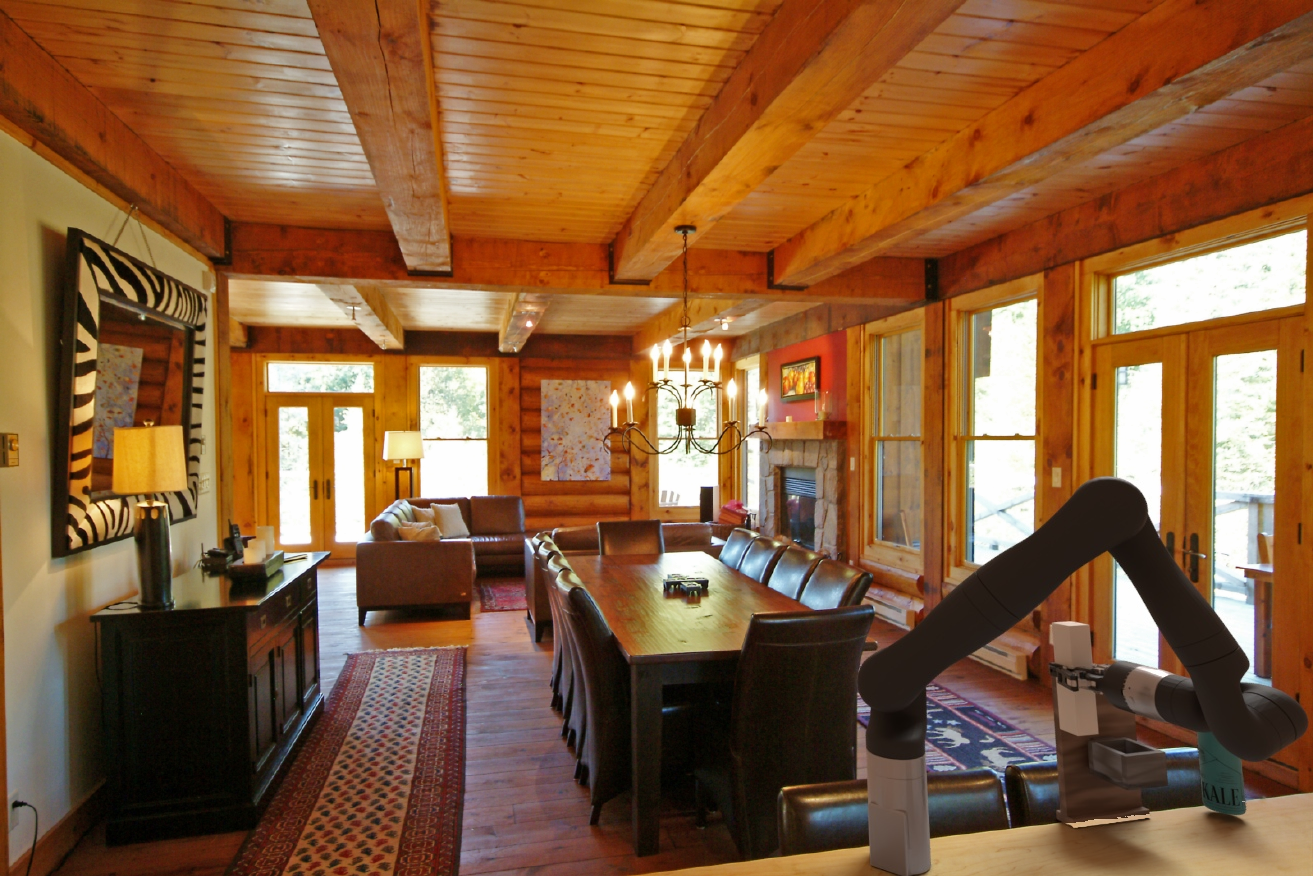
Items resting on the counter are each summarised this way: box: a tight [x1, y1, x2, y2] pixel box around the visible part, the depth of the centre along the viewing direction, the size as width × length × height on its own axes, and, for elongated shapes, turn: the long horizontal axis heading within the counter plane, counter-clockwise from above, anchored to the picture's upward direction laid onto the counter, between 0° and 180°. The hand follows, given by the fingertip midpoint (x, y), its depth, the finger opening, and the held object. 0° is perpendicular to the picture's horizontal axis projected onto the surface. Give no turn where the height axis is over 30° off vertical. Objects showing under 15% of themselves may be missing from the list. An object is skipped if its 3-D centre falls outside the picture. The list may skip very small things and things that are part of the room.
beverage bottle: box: [1196, 732, 1247, 816], centre depth 128 cm, size 6×7×20 cm
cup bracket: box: [1050, 675, 1169, 824], centre depth 125 cm, size 12×16×26 cm
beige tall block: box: [1051, 620, 1099, 736], centre depth 122 cm, size 4×4×18 cm
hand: (1062, 667), depth 124 cm, fingers closed on beige tall block, 4 cm apart
